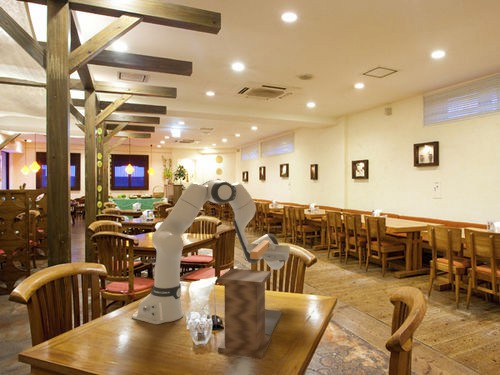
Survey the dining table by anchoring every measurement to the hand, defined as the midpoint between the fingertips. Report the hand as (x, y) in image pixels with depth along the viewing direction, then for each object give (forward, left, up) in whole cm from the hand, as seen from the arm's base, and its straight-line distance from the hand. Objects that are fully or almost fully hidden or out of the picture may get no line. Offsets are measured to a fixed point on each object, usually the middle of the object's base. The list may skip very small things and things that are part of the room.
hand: (264, 244), depth 148 cm
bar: (0, -7, -2) cm, 8 cm away
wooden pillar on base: (0, -29, -32) cm, 43 cm away
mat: (0, -8, -32) cm, 33 cm away
